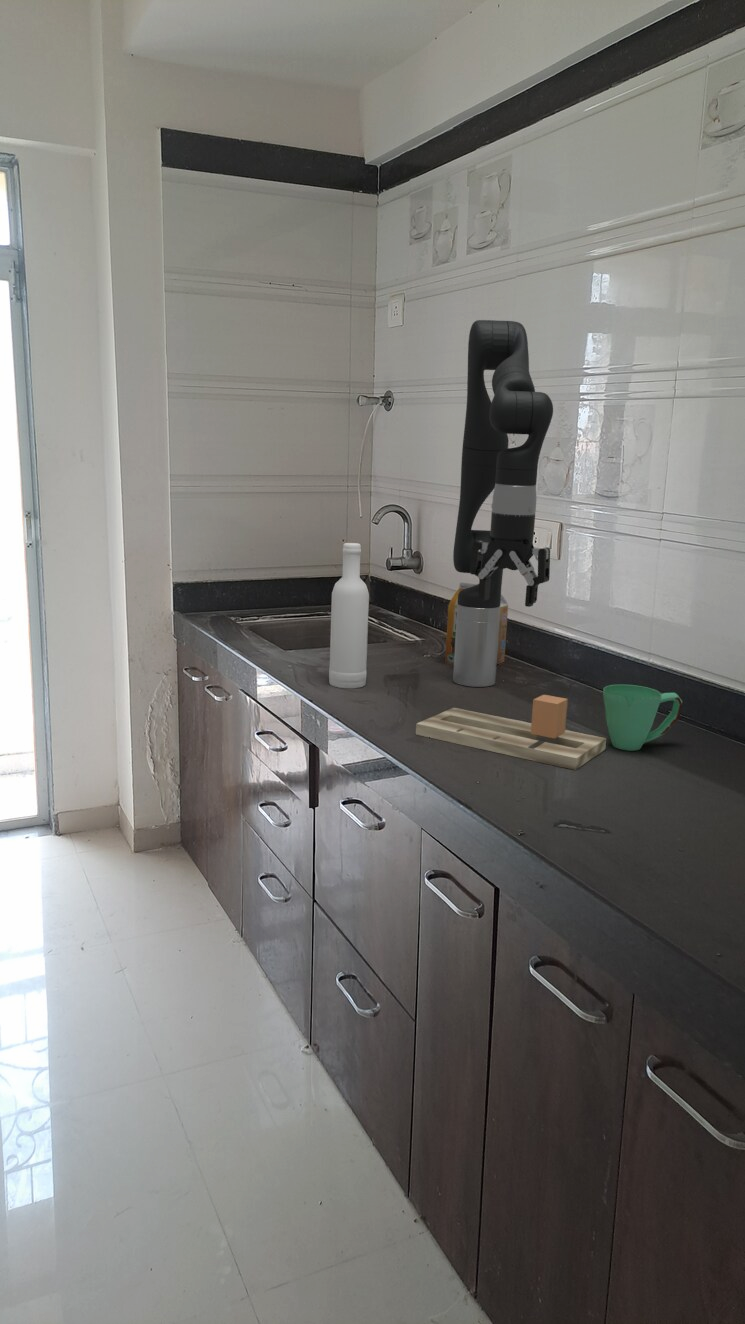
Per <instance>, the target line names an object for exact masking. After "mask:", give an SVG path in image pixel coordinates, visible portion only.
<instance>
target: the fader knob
mask: <svg viewBox="0 0 745 1324" xmlns="http://www.w3.org/2000/svg"><path fill="white" fill-rule="evenodd" d="M567 711H568V698H565V697H560V696H554V695H553V696H552V695H549V694H541V695H540V696H538V697H536V698H534V699H533V701H532V714H531V722H530V723H531V734H536V735H537V739H536V740H541V741H545V742H548V743H553V744H558V736H560V735H562V734H563V733H565V730H566V725H567V724H566V722H567Z"/></svg>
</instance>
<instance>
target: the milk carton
mask: <svg viewBox="0 0 745 1324" xmlns="http://www.w3.org/2000/svg"><path fill="white" fill-rule="evenodd" d="M477 584H478V583H470V582H462V581H461V582H459V586H458V587H459V588H458V589H457V590H456V592H455V593H454V594H453V596H452V598H451V599H450V601H449V603H448V607H447V626H446V639H445V641H446V642H445V643H446V644H445V656H444V657H445V661H444V663H445V664H447V665H453V666H454V656H455V639H456V622H457V604H458V594H459V592H460V591H461V590H463V589H466V588H469V587H472V586H475V585H477ZM508 613H509V604H508V602H507V600H506V598H505V596H503V594H501V601H500V617H499V632H498V650H497V664H499V665H501V664H500V663H502V662H504V663H505V658H506V657H505V654H506V644H507V643H506V641H507V628H508V615H509V614H508ZM502 664H503V663H502Z"/></svg>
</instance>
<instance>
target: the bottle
mask: <svg viewBox="0 0 745 1324" xmlns="http://www.w3.org/2000/svg"><path fill="white" fill-rule="evenodd" d="M361 545H362V544H360V543H358V542H345V543H343V544H342V550H341V552H342V571H341V572H342V573H341V575H342V576H341V577H340V578H339V580H338V581H336V582H335V584H334V586H333V589H332V592H331V613H330V643H329V644H330V645H329V648H330V649H329V650H330V651H329V669H328V679H329V680H328V681H329V685H330V686H331V687H334V688H339V689H359V688H363V687H365V686H366V683H367V682H366V681H367V672H368V671H367V657H368V655H367V654H368V634H369V633H368V631H369V605H370V603H369V601H370V592H369V590H368V585H367V584H366V583H365V582H364V580H362V578H361V577H360V575H361V573H360V572H361V553H362V548H361Z"/></svg>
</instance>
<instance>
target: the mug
mask: <svg viewBox="0 0 745 1324" xmlns="http://www.w3.org/2000/svg"><path fill="white" fill-rule="evenodd" d="M602 691H603V693H602V696H603V697H602V698H603V704H604V712H605V720H606V726H607V731H608V734H609V737H610V740H611V745H612V746H613V747H614V748H616V749H618V750H622V751H629V752H630V751H634V752H635V751H639V750H641V749H642V747H643V745H644V744H646V743H648V742H651V741H653V740H655V739H657V738H660V737H661V736H664V735H665V734H666V733H667V732H668V730H670V729H671V728H672V726H673V725H674V724H675V723H676V722H677V721H678V720H679V719H680V716H681V711H682V706H683V700H682V699H681V698H680V696H679V695H678V694H677V693H676V692H664V693H663V692H660V691H658V690H657V689H654V688H650V687H646V686H642V685H634V684H610V685H606V686H605V687H603V690H602ZM668 701H671V702H672V701H673V704H672V708H671V711H670V712H669V714H668V715H667V716H666V718H665V719H664V720H663V721H662V722H661V723H660V724H659V726H658V727H657V728H655V729H653V730H652V727H653V725H654V721H655V717H656V715H657V712H658V710H659V706H660V704H662V703H664V702H665V703H666V702H668Z"/></svg>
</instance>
